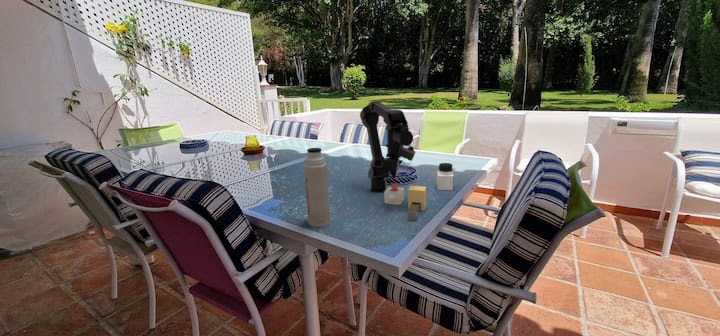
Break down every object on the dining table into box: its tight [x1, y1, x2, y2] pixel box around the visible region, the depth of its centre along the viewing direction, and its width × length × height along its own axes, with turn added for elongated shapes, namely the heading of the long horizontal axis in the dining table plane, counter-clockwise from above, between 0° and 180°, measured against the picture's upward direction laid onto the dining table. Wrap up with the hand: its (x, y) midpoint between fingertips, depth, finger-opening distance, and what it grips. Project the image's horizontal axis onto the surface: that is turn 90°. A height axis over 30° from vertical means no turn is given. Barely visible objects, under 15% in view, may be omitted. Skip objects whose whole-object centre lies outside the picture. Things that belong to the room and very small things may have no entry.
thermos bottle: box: [303, 147, 331, 228], centre depth 113 cm, size 8×8×28 cm
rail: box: [407, 202, 421, 222], centre depth 123 cm, size 3×16×3 cm, turn 161°
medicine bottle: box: [436, 162, 455, 191], centre depth 148 cm, size 7×7×12 cm
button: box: [391, 183, 398, 190], centre depth 133 cm, size 2×2×2 cm
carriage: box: [407, 185, 427, 212], centre depth 126 cm, size 6×5×8 cm
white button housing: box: [383, 186, 405, 205], centre depth 134 cm, size 7×7×5 cm
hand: (394, 177), depth 132 cm, fingers closed
